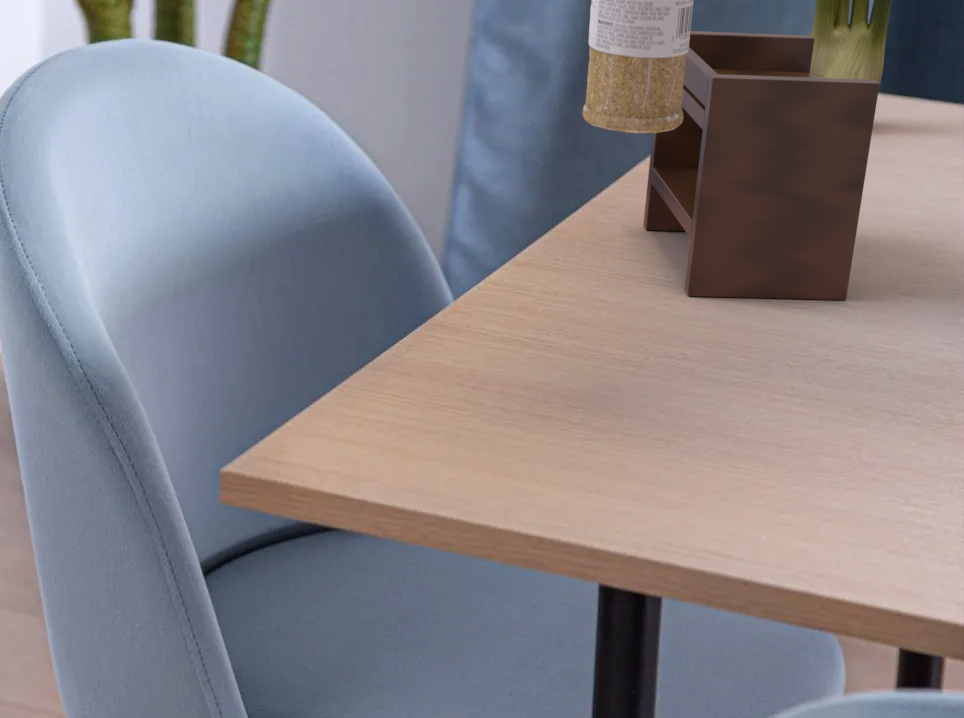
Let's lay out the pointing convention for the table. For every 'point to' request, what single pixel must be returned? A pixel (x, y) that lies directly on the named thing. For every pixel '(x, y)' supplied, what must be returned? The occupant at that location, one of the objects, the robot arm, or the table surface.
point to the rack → (763, 169)
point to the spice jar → (637, 64)
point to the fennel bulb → (849, 39)
